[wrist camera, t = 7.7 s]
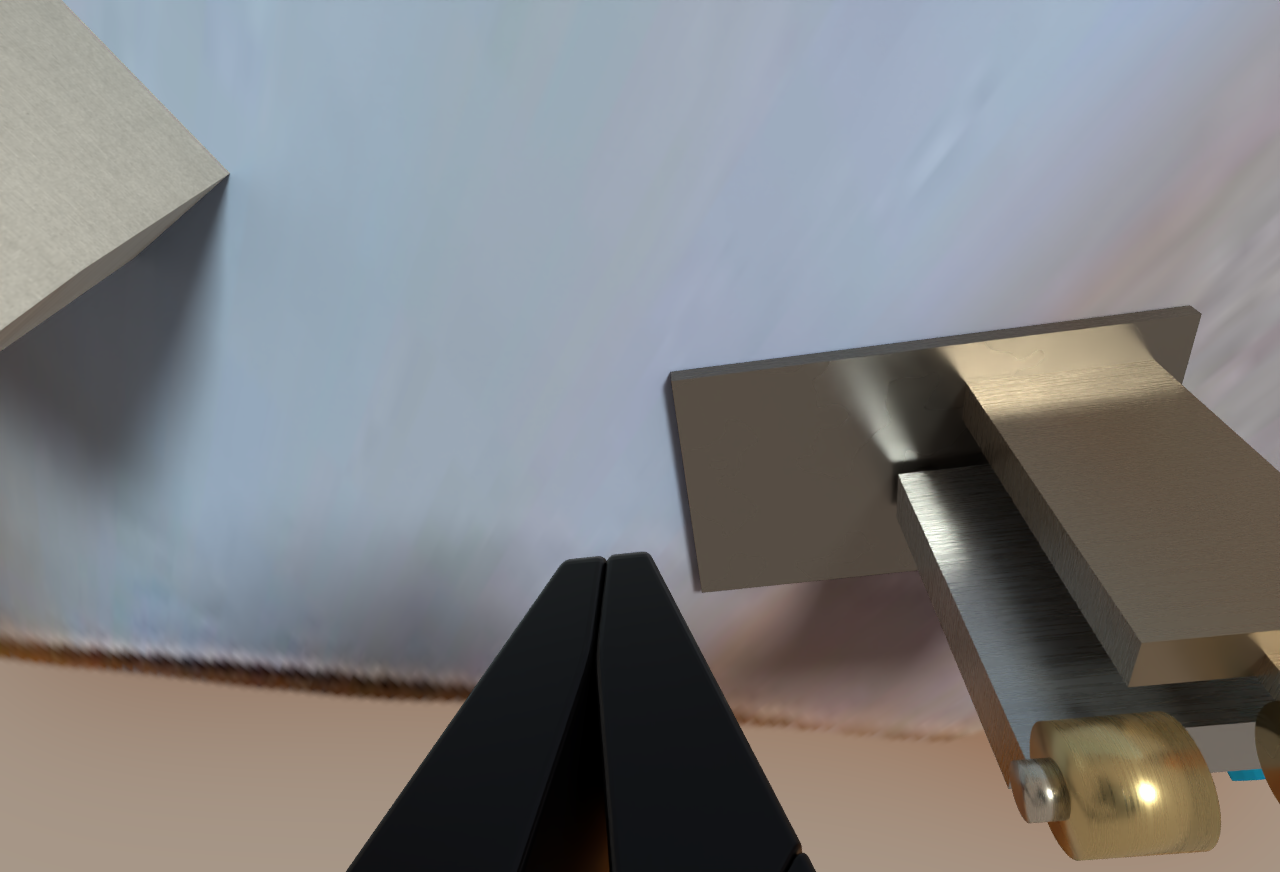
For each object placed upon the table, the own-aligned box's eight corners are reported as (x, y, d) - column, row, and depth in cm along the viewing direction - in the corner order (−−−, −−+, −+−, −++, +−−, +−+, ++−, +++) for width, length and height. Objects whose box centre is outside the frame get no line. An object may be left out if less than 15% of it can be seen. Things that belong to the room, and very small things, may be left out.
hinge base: (701, 581, 26) (737, 1003, 16) (670, 371, 21) (694, 776, 11) (1128, 537, 25) (1452, 961, 15) (1190, 305, 20) (1713, 691, 10)
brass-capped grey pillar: (875, 519, 23) (1029, 925, 14) (878, 421, 21) (1058, 818, 12) (1106, 493, 23) (1425, 898, 13) (1131, 391, 21) (1523, 783, 12)
